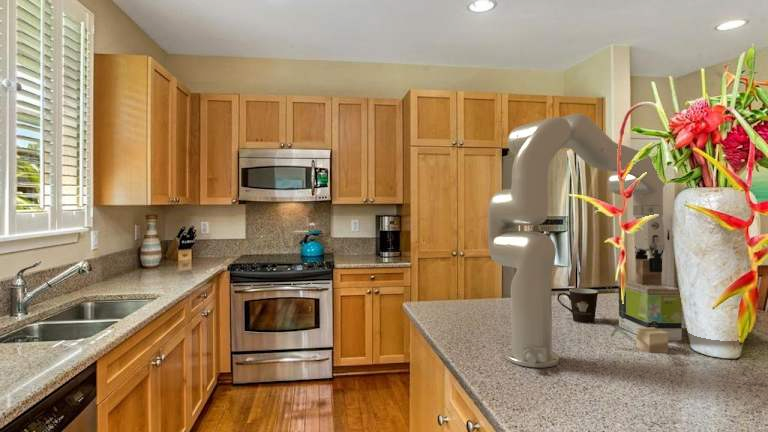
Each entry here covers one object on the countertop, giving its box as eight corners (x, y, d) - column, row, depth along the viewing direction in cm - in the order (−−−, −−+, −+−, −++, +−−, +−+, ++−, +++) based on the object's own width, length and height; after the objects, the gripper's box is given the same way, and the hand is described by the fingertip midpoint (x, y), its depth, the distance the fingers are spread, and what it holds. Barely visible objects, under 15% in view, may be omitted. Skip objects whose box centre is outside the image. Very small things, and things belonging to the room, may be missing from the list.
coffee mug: (603, 321, 137) (603, 291, 137) (589, 325, 132) (589, 294, 132) (570, 314, 146) (570, 286, 146) (555, 318, 142) (555, 289, 141)
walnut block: (661, 285, 120) (661, 261, 120) (642, 285, 121) (642, 261, 121) (653, 282, 125) (653, 259, 125) (635, 282, 126) (635, 259, 126)
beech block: (668, 352, 107) (667, 332, 107) (649, 352, 107) (649, 333, 107) (654, 345, 112) (654, 327, 112) (636, 346, 112) (636, 328, 112)
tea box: (683, 341, 116) (683, 288, 116) (647, 341, 116) (646, 288, 116) (649, 326, 131) (649, 279, 131) (617, 326, 131) (617, 279, 131)
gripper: (676, 211, 114) (676, 274, 114) (649, 211, 131) (649, 266, 131) (646, 212, 115) (646, 273, 115) (623, 212, 132) (623, 265, 132)
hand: (648, 269), depth 123 cm, fingers open, 9 cm apart
